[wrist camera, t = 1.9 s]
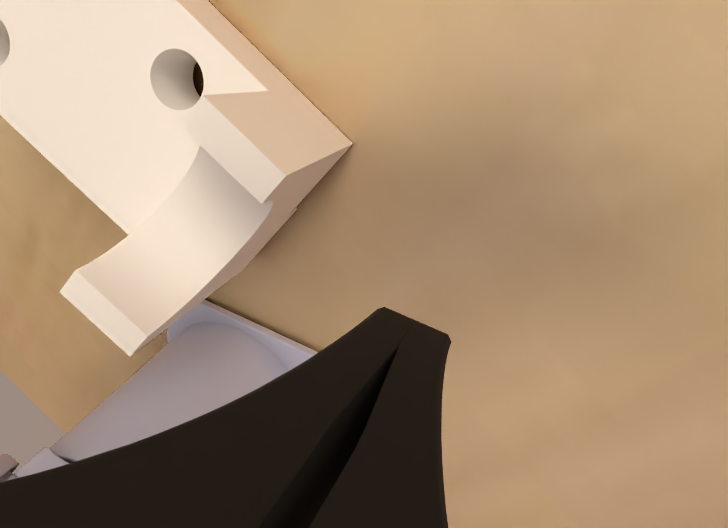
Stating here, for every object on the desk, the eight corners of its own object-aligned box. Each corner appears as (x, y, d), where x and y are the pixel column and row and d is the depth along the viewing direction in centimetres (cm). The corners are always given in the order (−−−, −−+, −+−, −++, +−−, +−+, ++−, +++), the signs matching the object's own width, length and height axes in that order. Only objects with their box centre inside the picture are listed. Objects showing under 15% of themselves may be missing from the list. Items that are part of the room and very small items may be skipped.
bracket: (359, 140, 20) (285, 175, 13) (243, 269, 22) (129, 356, 15) (84, -131, 19) (-156, -253, 12) (-3, 36, 22) (-241, 17, 15)
